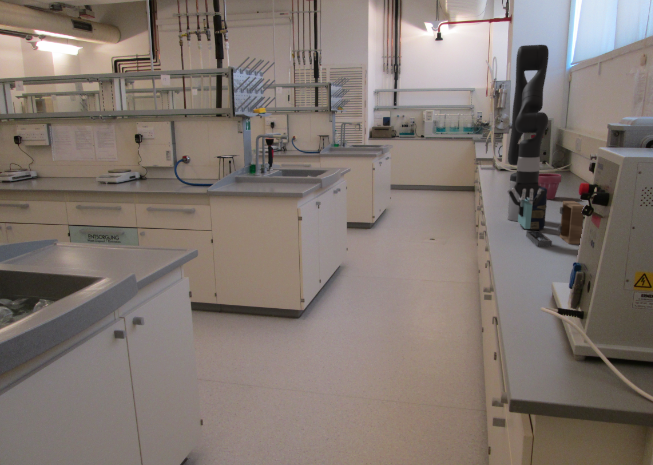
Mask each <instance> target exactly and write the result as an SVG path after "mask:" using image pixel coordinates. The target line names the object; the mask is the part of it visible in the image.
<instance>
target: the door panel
mask: <svg viewBox="0 0 653 465" xmlns="http://www.w3.org/2000/svg"><path fill="white" fill-rule="evenodd" d="M523 207H524V209H523V217H521V216H520V215H519V214H518V221H517V222H518V223H519V225H520V224H521V225H522V226H523V227H524V228H523V229H524V230H531V229H530V225H531V214H532V204H531V203H530V202H528V201H527V200H526V199H525V201H524V206H523Z"/></svg>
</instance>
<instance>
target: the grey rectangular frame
mask: <svg viewBox="0 0 653 465" xmlns="http://www.w3.org/2000/svg"><path fill="white" fill-rule="evenodd" d="M525 236H526V238H528V239H529V241H530V242H532V244H534V245H535V246H536V247H552V244H553V240H552V239H550V238H549V237H547V236H546V235H545V234H544V233H543V232H541V231H538V230H537V231H534V230H528V231H527V230H526V235H525Z"/></svg>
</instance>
